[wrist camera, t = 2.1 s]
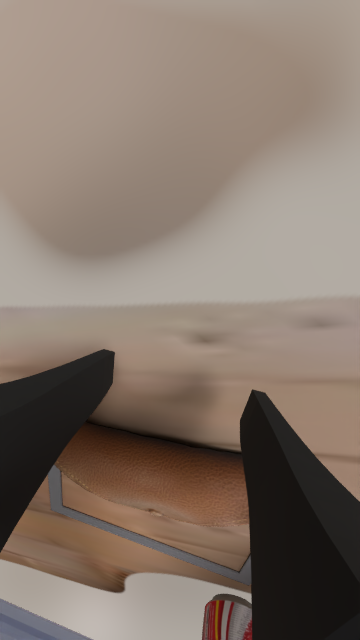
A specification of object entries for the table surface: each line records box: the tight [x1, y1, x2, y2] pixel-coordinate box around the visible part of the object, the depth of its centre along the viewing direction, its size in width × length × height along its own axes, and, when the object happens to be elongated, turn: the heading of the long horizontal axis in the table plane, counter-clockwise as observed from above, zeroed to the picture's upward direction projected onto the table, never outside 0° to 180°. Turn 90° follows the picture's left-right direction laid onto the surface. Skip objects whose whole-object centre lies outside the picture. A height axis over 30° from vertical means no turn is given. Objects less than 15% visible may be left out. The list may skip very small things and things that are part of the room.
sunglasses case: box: [54, 422, 249, 527], centre depth 17 cm, size 18×7×7 cm
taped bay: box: [48, 465, 251, 585], centre depth 21 cm, size 24×12×1 cm, turn 79°
